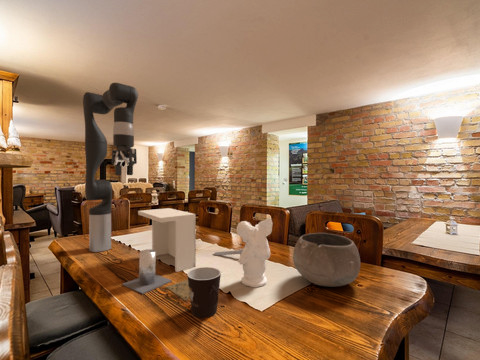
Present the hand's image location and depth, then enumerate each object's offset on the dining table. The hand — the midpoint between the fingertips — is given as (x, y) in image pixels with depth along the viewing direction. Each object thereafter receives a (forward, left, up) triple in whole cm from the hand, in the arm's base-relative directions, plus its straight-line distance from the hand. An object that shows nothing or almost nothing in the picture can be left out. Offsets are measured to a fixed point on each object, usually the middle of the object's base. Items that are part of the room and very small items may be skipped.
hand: (123, 175), depth 99 cm
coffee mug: (+52, -9, -36) cm, 64 cm away
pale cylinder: (+24, -6, -35) cm, 43 cm away
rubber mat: (+24, -6, -36) cm, 43 cm away
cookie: (+38, 0, -36) cm, 53 cm away
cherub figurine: (+52, +17, -36) cm, 65 cm away
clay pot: (+72, +28, -36) cm, 85 cm away
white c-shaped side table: (+13, +10, -36) cm, 39 cm away
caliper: (+32, +32, -36) cm, 58 cm away
